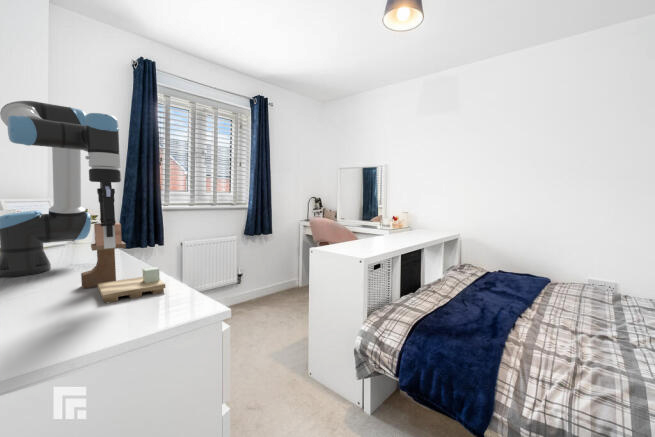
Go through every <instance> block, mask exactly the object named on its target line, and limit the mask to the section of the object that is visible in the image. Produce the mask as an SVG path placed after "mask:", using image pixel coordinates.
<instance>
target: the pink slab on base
mask: <svg viewBox="0 0 655 437" xmlns="http://www.w3.org/2000/svg"><path fill="white" fill-rule="evenodd" d="M101 224H103V223H101V222H100V223H99V222H98V223H93V228H94V243H90V248H91V251H92V252H93V251H97V250H105V249H104V235H103V226H101ZM114 226H115V242H116V248H107V249H116V250H117V249H125V248H127V246H126V242H124V241H123V240H122V223H120V222H116V223H115V225H114Z"/></svg>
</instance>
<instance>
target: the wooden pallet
mask: <svg viewBox="0 0 655 437" xmlns="http://www.w3.org/2000/svg"><path fill="white" fill-rule="evenodd" d="M97 289H98V291H99V293H100V295H101V296H100V297H101V298H102V300H103V301H104V303H105V304H107V303H109V304H110V303H113V302H118V301H119V297H123V296H124V297H125V296H128V297H129V299H135V298H139V297H143V293H146V292H147V293H148V292H151V294H153V295H155V294H162V293H165V289H166V283H165V282H163V280H161V279H160V281H156V282H150V283H145V282H144V281H143V276H139V277H132V278H125V279H120V280H118V279H117V280H116V281H111V282H105V283H98V287H97Z"/></svg>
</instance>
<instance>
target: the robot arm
mask: <svg viewBox="0 0 655 437" xmlns="http://www.w3.org/2000/svg"><path fill="white" fill-rule="evenodd" d="M0 119H1V121H2V122H3V124H4V125H5V126H6V127H7V134H8V140H9V142H11V143H13V144H18V145H23V146H35V147H48V148H51V152H52V157H51V158H52V159H51V160H52V191H53V205H52V206H51V207H49V208H48V213H42V211H41V210H29V211H28V210H27V211H21V212H20V211H19V212H12V213H5V214H2V215H1V216H0V277H1V278H9V277H11V278H13V277H22V276H29V275H35V274H40V273H45V272H47V271H49V270H51V268H52V267H51V262H50V260H49V258H48V256H47V254H46V253H45V249H44V244H48V243H51V244H52V243H60V242H75V241H79V240H81V241H82V240H85V239H86V238H87V237H89V234H90V232H91V227H92V221H91V220H92V217H91V214H90V213H89V212H87V211H86V208H84V206H83V205H82V178H81V176H82V175H81V174H82V170H81V169H82V167H81V166H82V164H81V163H82V161H81V160H82V159H81V158H82V157H81V156H82V155H81V154H82V153H81V152H82V151H84V152H87V153H88V154H87V155H85V157H84V158H85V160H88V166H89V169H88V180H89V182H92V183H99V188H96V193H97V196H98V197H97V198H98V199H97V200H98V203H99V213H100V214H99V221H100V223H103V224H101V226H103V235H104V249H107V248H116V242H115V226H114V225H115V223H117V222H116V216H115V214H116V213H115V202H116V201H115V193H116V190H115V188H112V183H120V182H121V181H122V180H121V179H122V178H121V176H122V173H121V171H120V170H119V169H120V168H121V155H120V137H119V136H120V134H119V133H120V132H119V131H120V128H119V123H118V118H116V117H115V116H114V115H111V114H106V113H100V112H99V113H98V112H90V113H87V114H86V112H85V111H83V109H78V108H74V107H71V106H64V105H63V106H62V105H59V104H58V105H57V104H52V103H46V102H45V103H44V102H39V101H33V100H16V101H12V102H9V103H6V104H5V105H4V106H3V107H2V108H1V109H0Z"/></svg>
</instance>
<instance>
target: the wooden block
mask: <svg viewBox="0 0 655 437" xmlns="http://www.w3.org/2000/svg"><path fill="white" fill-rule="evenodd" d="M115 251H116V250H115V249H105V250H96V258H97V259H96V260H97V261H96V264H95V266H94V267H93V268H92V269H90V270H87V271H83V272H81V273H80V276H81V278H80V280H81V281H80V282H81V286H82V289H92V288H98V283H105V282H111V281H117V273H116V272H117V271H116V270H117V269H116V252H115Z"/></svg>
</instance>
